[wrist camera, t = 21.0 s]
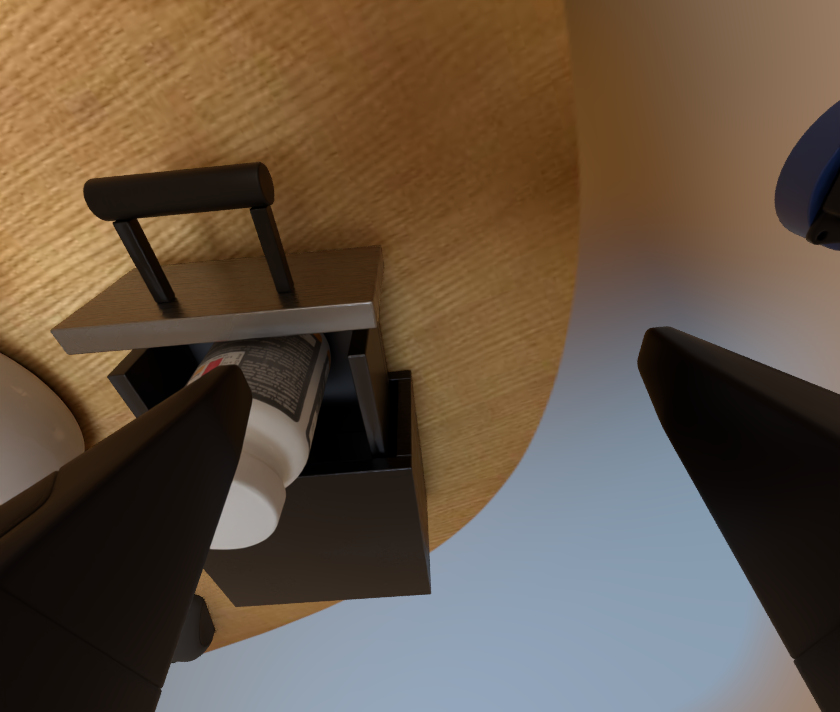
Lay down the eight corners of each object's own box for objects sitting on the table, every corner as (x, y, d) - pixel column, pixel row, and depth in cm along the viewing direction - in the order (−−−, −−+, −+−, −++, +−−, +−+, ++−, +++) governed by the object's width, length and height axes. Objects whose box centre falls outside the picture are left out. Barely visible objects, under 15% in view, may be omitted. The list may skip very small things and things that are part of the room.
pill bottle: (201, 327, 21) (69, 494, 13) (293, 282, 19) (211, 439, 11) (270, 399, 24) (200, 571, 16) (353, 366, 22) (323, 535, 14)
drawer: (76, 164, 17) (-50, 202, 12) (365, 135, 17) (348, 163, 12) (227, 438, 27) (189, 516, 22) (407, 424, 27) (407, 500, 22)
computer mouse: (163, 633, 48) (145, 674, 45) (139, 591, 42) (117, 635, 39) (217, 635, 49) (203, 675, 46) (202, 594, 42) (185, 637, 39)
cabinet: (200, 387, 26) (135, 489, 19) (410, 369, 25) (411, 468, 19) (266, 508, 34) (235, 607, 27) (426, 496, 33) (431, 594, 27)
